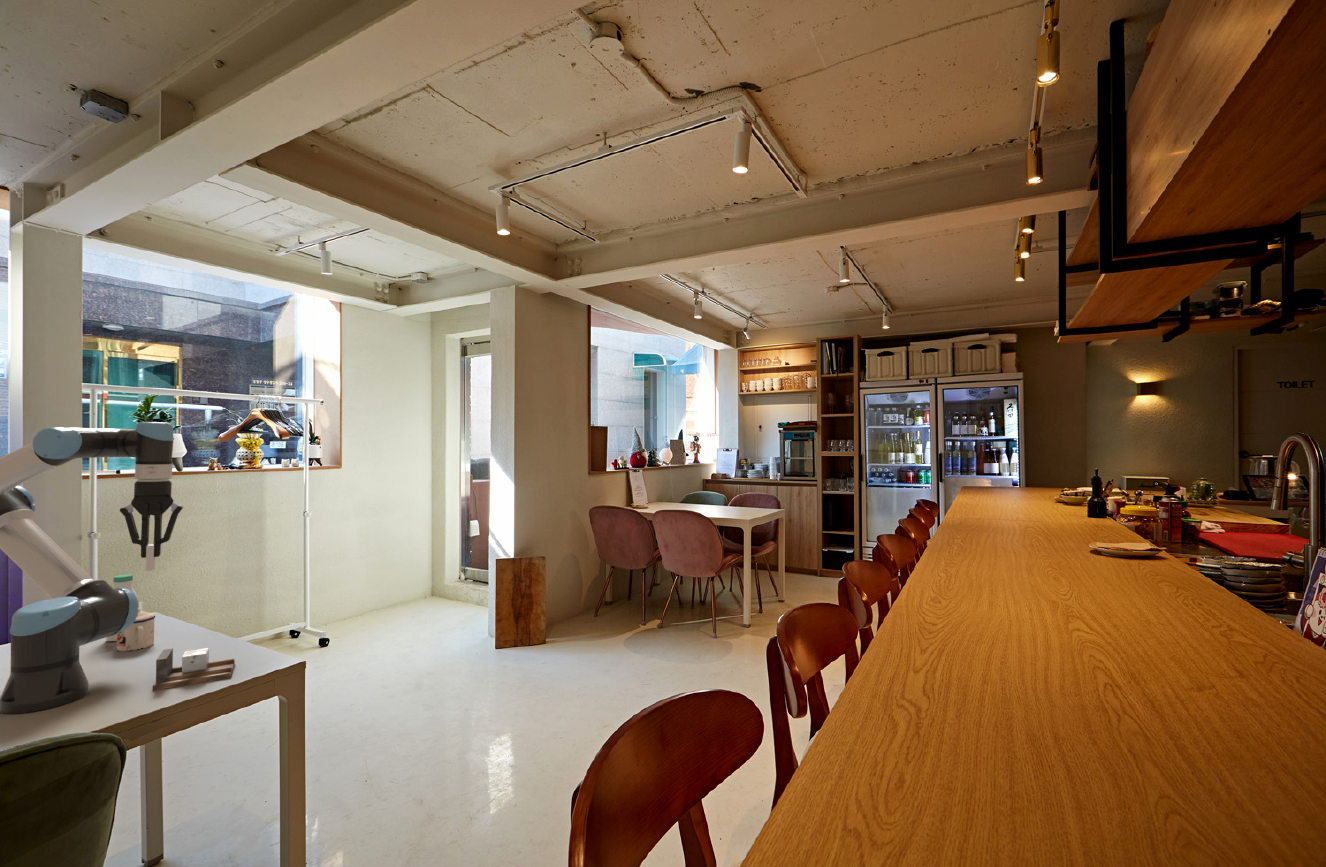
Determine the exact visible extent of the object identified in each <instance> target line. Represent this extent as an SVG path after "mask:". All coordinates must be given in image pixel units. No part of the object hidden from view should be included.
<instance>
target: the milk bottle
mask: <svg viewBox="0 0 1326 867" xmlns="http://www.w3.org/2000/svg"><path fill="white" fill-rule="evenodd" d="M133 578H134V576H133V574H119V575H115V576H113V578H112V579H113V585H114V587H113V589H116V588H122V589H128V590H130V591H132V592H133V593H134V594H135V596H136V597H137V600H138V603H139V596H138V593H136V591H135V589H134V587H133V583H132V582H133ZM105 640H106V641H107V642H108V641H117V634H115V635H113V636H108V637H105Z"/></svg>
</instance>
